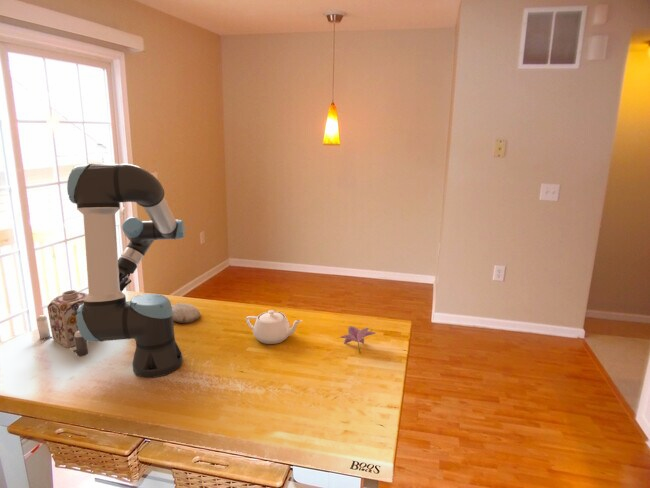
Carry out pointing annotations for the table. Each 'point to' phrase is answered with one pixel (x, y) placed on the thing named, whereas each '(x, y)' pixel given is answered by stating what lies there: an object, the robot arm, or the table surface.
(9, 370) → the table surface
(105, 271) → the robot arm
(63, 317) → the decorative jar
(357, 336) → the lily
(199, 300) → the table surface
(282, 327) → the teapot
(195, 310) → the stone
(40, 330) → the salt shaker
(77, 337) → the pepper shaker
